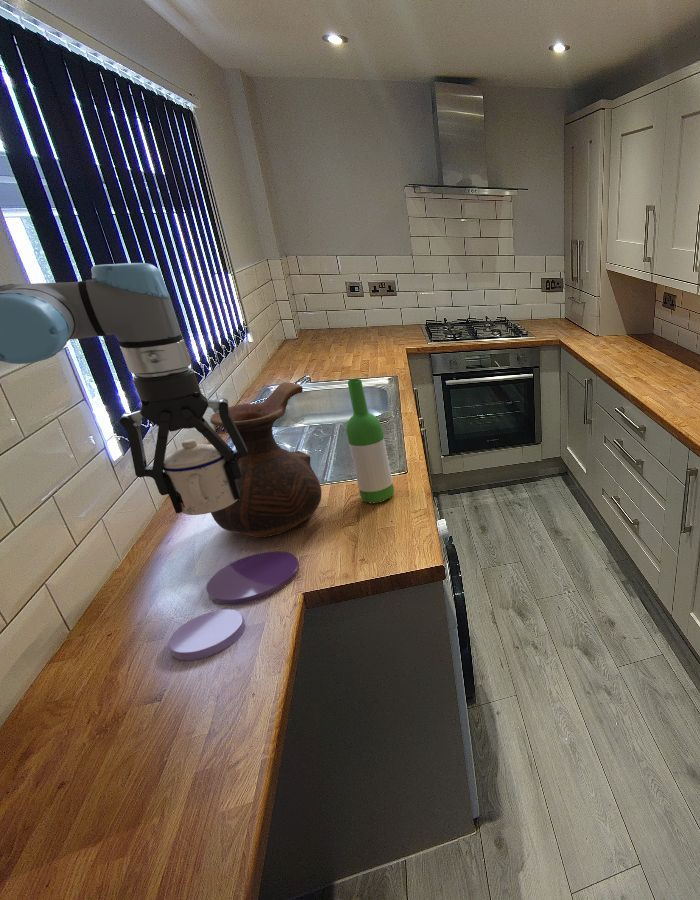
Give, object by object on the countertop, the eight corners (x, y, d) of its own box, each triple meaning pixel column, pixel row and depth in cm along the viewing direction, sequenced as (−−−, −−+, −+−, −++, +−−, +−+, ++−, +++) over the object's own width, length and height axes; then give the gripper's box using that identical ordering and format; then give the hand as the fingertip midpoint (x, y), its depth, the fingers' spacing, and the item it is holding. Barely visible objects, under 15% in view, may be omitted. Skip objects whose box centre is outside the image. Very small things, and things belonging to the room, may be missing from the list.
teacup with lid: (183, 499, 92) (159, 437, 87) (243, 486, 96) (224, 426, 91) (171, 530, 82) (144, 463, 77) (239, 515, 86) (217, 450, 81)
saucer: (207, 616, 91) (205, 610, 90) (209, 572, 102) (207, 567, 102) (303, 585, 98) (302, 580, 98) (295, 548, 110) (294, 543, 109)
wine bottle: (366, 508, 125) (340, 387, 113) (357, 496, 131) (331, 379, 119) (399, 498, 129) (377, 380, 118) (389, 487, 135) (366, 373, 123)
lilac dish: (169, 670, 80) (165, 662, 79) (174, 631, 87) (171, 624, 87) (246, 643, 85) (243, 635, 84) (244, 608, 92) (242, 601, 92)
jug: (323, 536, 114) (288, 405, 102) (206, 557, 107) (155, 419, 95) (333, 493, 133) (305, 377, 121) (234, 508, 126) (194, 388, 114)
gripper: (66, 387, 72) (129, 530, 81) (241, 365, 82) (279, 495, 91) (79, 376, 77) (135, 510, 87) (240, 357, 88) (276, 479, 97)
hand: (209, 502), depth 89 cm, fingers closed on teacup with lid, 7 cm apart
